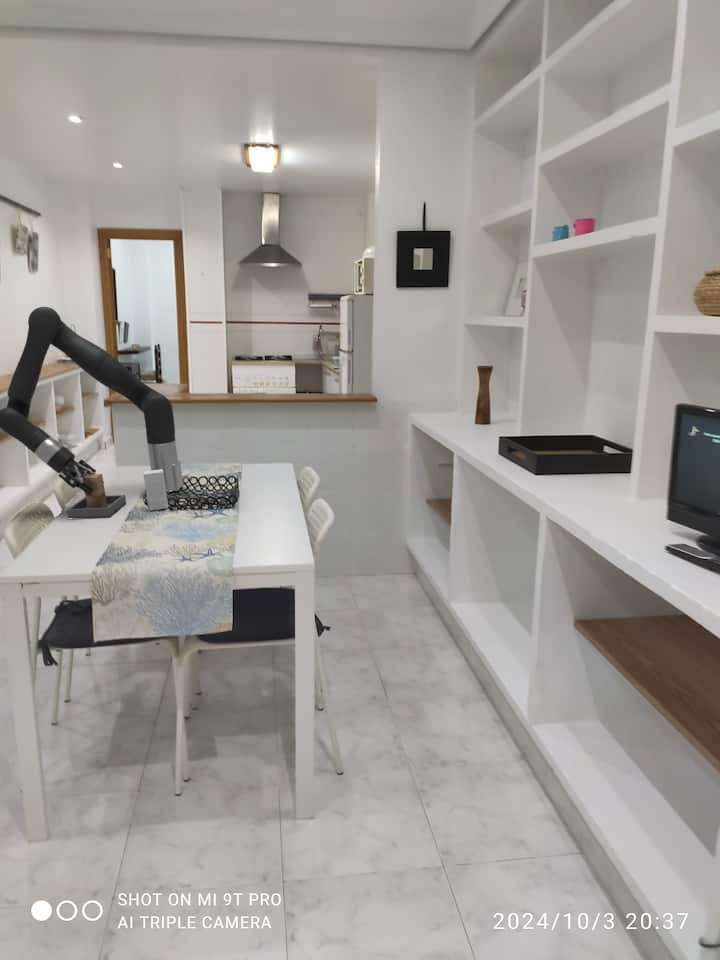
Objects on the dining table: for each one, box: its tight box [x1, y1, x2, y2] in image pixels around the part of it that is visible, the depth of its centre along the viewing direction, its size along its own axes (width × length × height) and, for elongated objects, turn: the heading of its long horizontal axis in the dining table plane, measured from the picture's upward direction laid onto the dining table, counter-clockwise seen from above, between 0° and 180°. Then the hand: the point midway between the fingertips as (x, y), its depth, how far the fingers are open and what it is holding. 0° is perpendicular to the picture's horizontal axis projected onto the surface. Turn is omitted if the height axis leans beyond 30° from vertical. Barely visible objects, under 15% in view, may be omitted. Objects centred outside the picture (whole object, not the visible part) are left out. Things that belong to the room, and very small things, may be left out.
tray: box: [66, 494, 127, 519], centre depth 221 cm, size 13×14×3 cm
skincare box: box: [143, 469, 169, 512], centre depth 220 cm, size 6×4×12 cm
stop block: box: [82, 473, 107, 508], centre depth 220 cm, size 4×4×11 cm
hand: (96, 488), depth 219 cm, fingers open, 8 cm apart
